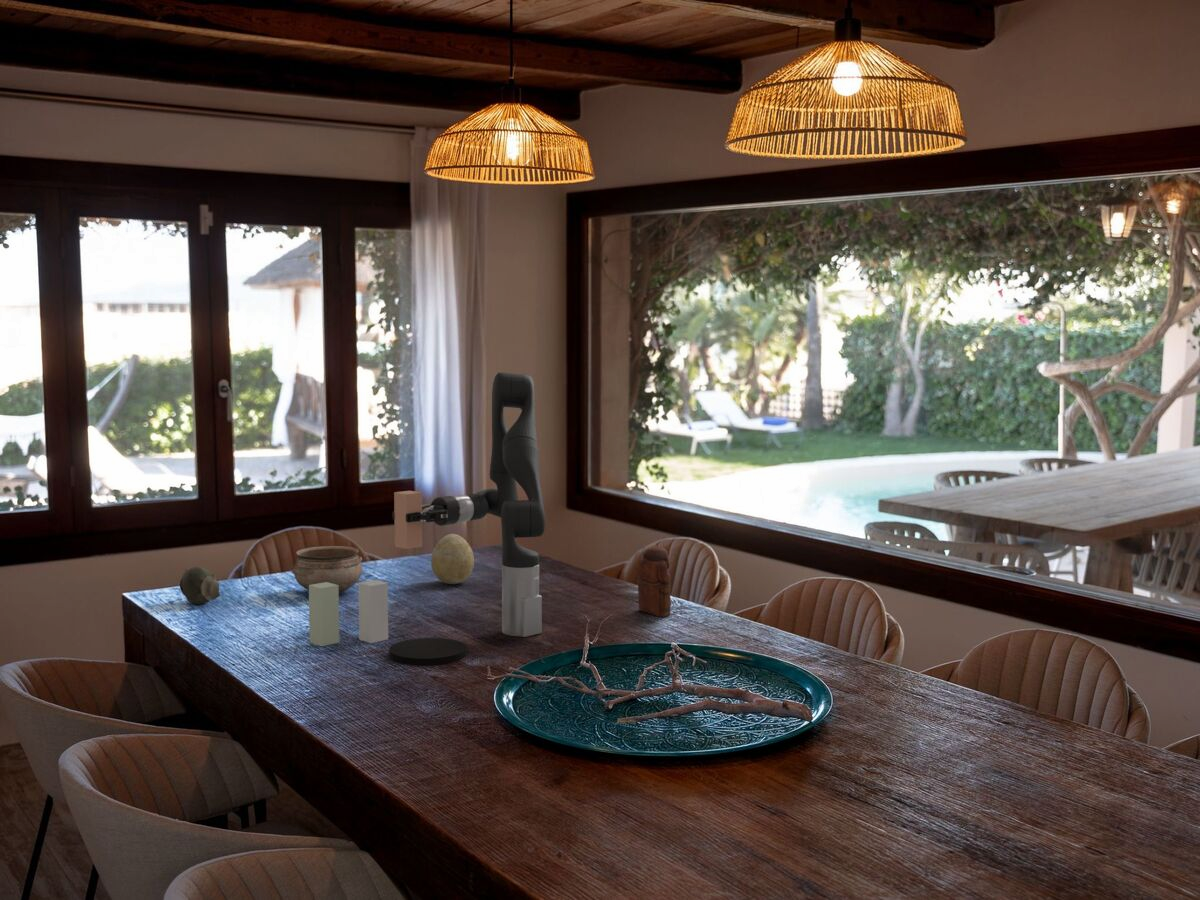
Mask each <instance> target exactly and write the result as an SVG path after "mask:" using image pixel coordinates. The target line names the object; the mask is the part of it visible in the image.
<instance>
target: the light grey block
mask: <svg viewBox="0 0 1200 900" xmlns="http://www.w3.org/2000/svg"><path fill="white" fill-rule="evenodd" d="M358 640H360V641H363V642H367V643H369V644H374V643H378V642H383V641H387V640H389V582H385V581H382V580H378V579H371V580H366V581H362V582H361V581H360V582H358Z"/></svg>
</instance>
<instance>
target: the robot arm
mask: <svg viewBox="0 0 1200 900" xmlns="http://www.w3.org/2000/svg"><path fill="white" fill-rule="evenodd" d="M535 393H536V392H535V382H534V380H533V378H532V376H530V375H529V374H525V373H523V374H522V373H513V372H497V374H496V375H495V376H494V378H493V382H492V390H491V436H492V437H491V457H490V464H489V465H490V466H489V478H490V480H491V481H492V482H493V483H495V486H496V488H486V489H483V490H481V491H478V492H476V493H469V494H454V495H446V496H438V497H435V498H434V499H433V500H432V501H431V504H422V511H420V512H415V513H407V514H406V522H416V521H421V522H422V523H424V522H425V523H431V522H433V523H434V524H436V525H437V526H439V527H441V526H443V527H444V526H448V525H455V524H456V525H457V524H462V523H464V522H468V521H476V520H481V519H483V518H484V517H485V516H487V515H488V514H490V515H493V516H495V517H499V518H500V523H501V524H500V525H501V540H502V541H501V544H502V545H501V546H502V547H501V548H502V551H501V553H502V555H501V558H502V559H501V560H502V561H501V633H502V634H503V635H506V636H510V637H522V638H525V637H530V636H535V635H537V634H542V631H543V629H542V626H543V625H542V621H543V619H542V618H543V617H542V615H543V599H542V598H543V597H542V595H540V555H539V553H538V552H537V551H535V550H533V549H529V548H526V547H524V546H522V545H520V544H518V543H517V541H516V538H519V539H520V538H537V537H542V536H543V534H545V530H546V526H547V525H546V524H547V523H546V511H545V505H544V498H543V491H542V486H541V477H540V459H539V458H540V456H539V446H538V445H539V444H538V438H537V429H536V416H535V415H536V414H535V413H536V409H535V408H536V407H535V401H536V399H535ZM504 408H515V409H520V410H521V413H519V416H518V417H517V419H516V421H515V422H514V423H513V424H512V426H511V427H509V428H508V427H507V425H506V421H505V416H504ZM517 484H518V485H519V486H520V487H521V488H522V490H523V491H524V493H525V495H526V498H527V499H523V500H522V499H521V500H520V499H519V495H518V488H517ZM392 520H393V521H395V512H394V510H393V511H392Z"/></svg>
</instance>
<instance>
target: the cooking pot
mask: <svg viewBox="0 0 1200 900" xmlns="http://www.w3.org/2000/svg"><path fill="white" fill-rule="evenodd" d="M359 552H360V550H359V549H358V548H356V547H351V546H345V545H341V546H339V545H327V546H321V545H320V546H314V547H313V546H312V547H307V548H302V549H299V550H297V551H296V552H295V554H296V555H297V559H296V561H295V564H294V568H293V569H292V570H291V573H292V574H293V575H294V578H295V580H296V582H297V584H298V585H299V586H300V587H302V588H303V589H305V590H308V591H309V585H312V584H318V583H324V582H328V583H332V584H336V585H339V595H341V594H342V593H344V592H345V591H346V590H349V589H350V588H351V587H353V586H355V584H357V583H358V582H359V580H360V578H361V577H362V574H363V566H362V561H363V558H362V557H361V556H359V555H358V554H359Z"/></svg>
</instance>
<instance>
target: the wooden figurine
mask: <svg viewBox="0 0 1200 900" xmlns="http://www.w3.org/2000/svg"><path fill="white" fill-rule="evenodd" d="M669 568H670V557H669V553H668V551H667V550H666V549H665V548H664V547H662V546H657V545H655V546H650V547H648V548H647V549H645V550H644V552H643V553H642V556H641V557H640V559H639V563H638V571H637V573H638V574H637V575H638V577H637V578H638V579H637V581H638V584H637V594H638V595H637V596H638V609H639V611H641V612H644V613H646V614H650V615H653V616H656V617H658V618H659V617H661V618H664V617H667V616H670V614H671V610H672V609H671V605H672V604H671V602H672V601H671V580H672V579H671V577H672V576H671V574H670V572H668V569H669Z"/></svg>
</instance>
